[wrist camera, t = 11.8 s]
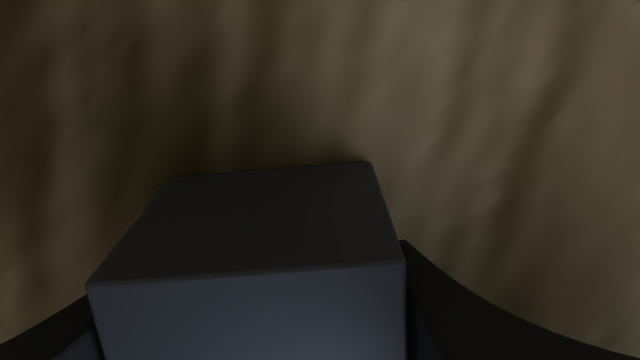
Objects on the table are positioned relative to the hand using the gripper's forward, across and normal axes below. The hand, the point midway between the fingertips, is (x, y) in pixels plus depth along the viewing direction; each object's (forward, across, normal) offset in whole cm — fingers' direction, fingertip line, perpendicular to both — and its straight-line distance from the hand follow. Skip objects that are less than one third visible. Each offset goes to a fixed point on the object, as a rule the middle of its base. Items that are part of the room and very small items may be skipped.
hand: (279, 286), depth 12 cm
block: (+1, 0, 0) cm, 1 cm away
